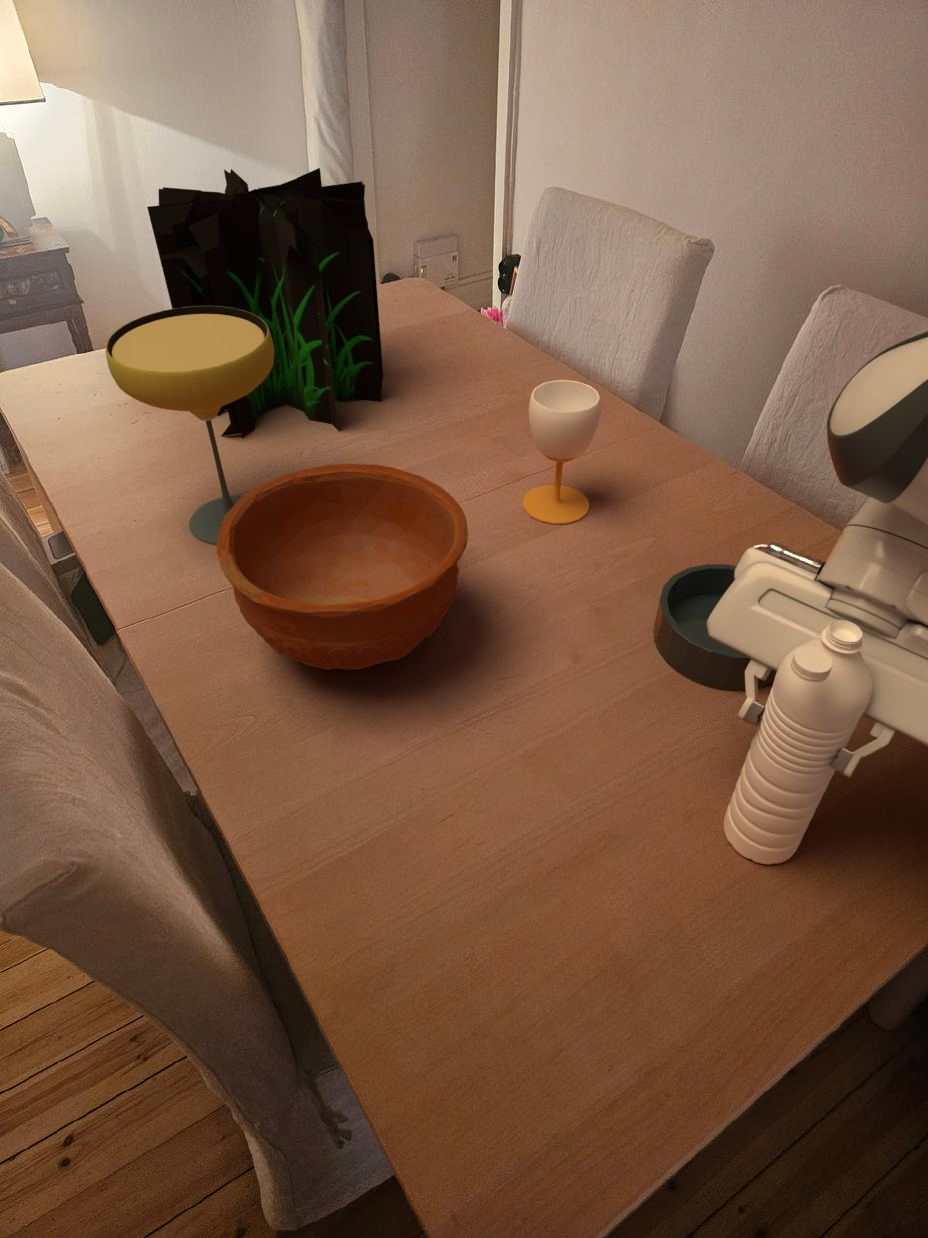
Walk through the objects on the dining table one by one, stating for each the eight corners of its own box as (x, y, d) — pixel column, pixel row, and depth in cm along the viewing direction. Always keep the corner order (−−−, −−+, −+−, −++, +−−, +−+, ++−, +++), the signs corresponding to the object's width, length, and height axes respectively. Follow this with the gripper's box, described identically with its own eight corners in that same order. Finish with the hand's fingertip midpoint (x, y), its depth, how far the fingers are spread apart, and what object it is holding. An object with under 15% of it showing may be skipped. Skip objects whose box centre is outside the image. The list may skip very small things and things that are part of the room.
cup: (552, 533, 106) (562, 421, 95) (508, 500, 111) (513, 391, 101) (603, 509, 110) (618, 399, 99) (559, 478, 115) (568, 371, 104)
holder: (812, 632, 92) (825, 599, 89) (758, 713, 84) (771, 679, 80) (690, 580, 99) (698, 547, 96) (629, 650, 90) (635, 616, 87)
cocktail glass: (263, 468, 117) (229, 292, 101) (325, 528, 107) (299, 344, 90) (140, 511, 110) (81, 329, 93) (193, 582, 99) (138, 390, 82)
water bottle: (748, 791, 77) (827, 586, 60) (811, 835, 73) (914, 631, 56) (692, 846, 72) (760, 642, 55) (757, 896, 69) (850, 695, 52)
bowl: (203, 626, 93) (171, 518, 83) (382, 539, 105) (373, 436, 95) (322, 760, 79) (301, 650, 69) (513, 643, 91) (519, 535, 81)
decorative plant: (202, 363, 142) (158, 172, 122) (374, 349, 146) (359, 161, 126) (192, 449, 121) (137, 235, 101) (393, 430, 125) (379, 221, 105)
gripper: (748, 523, 64) (663, 679, 65) (1035, 641, 54) (929, 822, 55) (760, 542, 69) (681, 685, 71) (1022, 653, 60) (926, 817, 61)
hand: (792, 747), depth 63 cm, fingers closed on water bottle, 6 cm apart
